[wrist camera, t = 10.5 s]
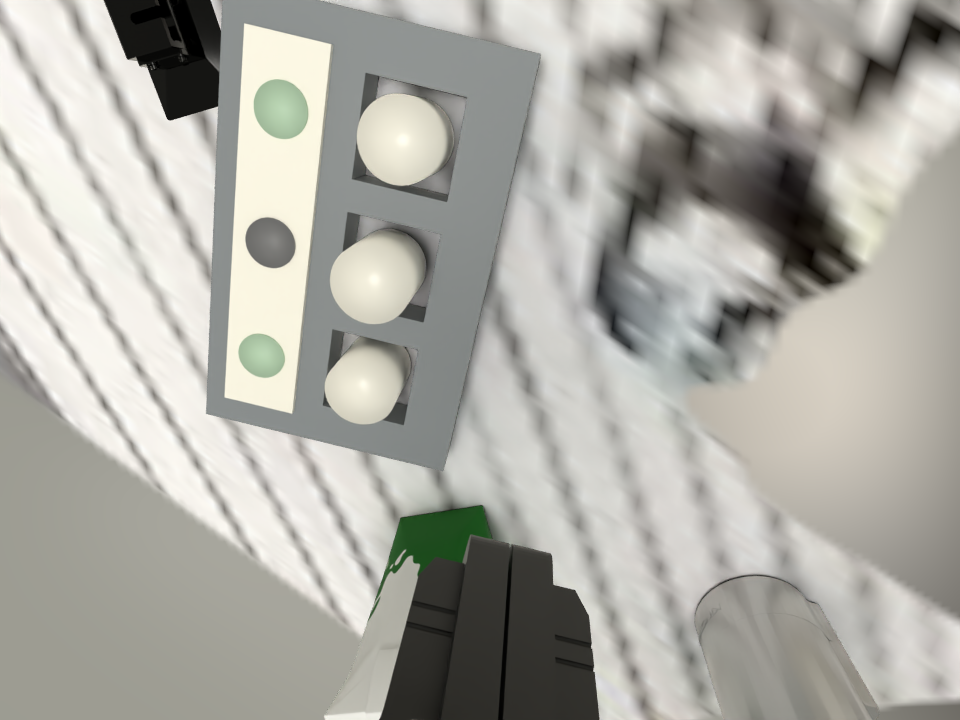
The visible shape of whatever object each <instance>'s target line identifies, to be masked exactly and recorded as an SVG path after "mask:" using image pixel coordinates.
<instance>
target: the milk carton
mask: <svg viewBox="0 0 960 720" xmlns="http://www.w3.org/2000/svg"><path fill="white" fill-rule="evenodd" d="M470 535H475V536H479V537H483V538H488V539H492V536H491V533H490V529H489V526H488V523H487V519H486V516H485V513H484V509H483V506H475V507H469V508H462V509H456V510H449V511H443V512H436V513H430V514H423V515H417V516H410V517H404V518H401V519H400V522H399V525H398V529H397V532H396V536H395V539H394V542H393V546H392V549H391V552H390V556H389V559H388V562H387V566H386V569H385V572H384V575H383V579H382V582H381V585H380V587H379V590H378V593H377V596H376V599H375V602H374V605H373V608H372V611H371V614H370V617H369V619H368V622H367V625H366V628H365V631H364V634H363V637H362V640H361V643H360V645H359V648H358V651H357V654H356V657H355V660H354V663H353V666H352V668H351V671H350V674H349V676H348V677H347V679H346V681H345V682H344V684H343V686H342V687H341V689H340V691H339V692H338V694H337V695H336V697H335V699H334V700H333V702H332V704H331V706H330V707H329V709H328V710H327V712H326V714H325V715H324V718H325V720H379V719H380V717H381V714H382V711H383V708H384V704H385V701H386V697H387V693H388V689H389V685H390V682H391V678H392V674H393V670H394V666H395V663H396V659H397V655H398V651H399V648H400V644H401V640H402V636H403V632H404V629H405V625H406V621H407V617H408V613H409V610H410V606H411V602H412V598H413V595H414V591H415V587H416V583H417V579H418V576H419V574H420V573H421V572H422V571H423V570H424V569H425V568H426V567H427V566H428V565H429V563H430V562H431V561H432V560H433V559H434V558H435V557H439V558H443V559H447V560H451V561H455V562H459V563H462V562H463V559H464V555H465V551H466V547H467V544H468V540H469V537H470ZM492 540H493V539H492Z"/></svg>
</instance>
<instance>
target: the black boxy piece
mask: <svg viewBox="0 0 960 720" xmlns="http://www.w3.org/2000/svg"><path fill="white" fill-rule="evenodd" d="M104 2H105V5H106V7H107V10H108V12H109V15H110V17H111V20H112V22H113V25H114V28H115V30H116V33H117V35H118V38H119V40H120V43H121V45H122V48H123V50H124V53H125V55H126V58H127V59H128V60H134V61H138V64H139V66H141V67H147V68H148V70H149V73H150V75H151V78H152V81H153V83H154V86H155V89H156V91H157V94H158V96H159V99H160V102H161V104H162V107H163V109H164V112H165V115H166V117H167V119H168V120H174V119H177V118H181V117H184V116H187V115H191V114H194V113H198V112H201V111H204V110H208V109H211V108H215V107H218V100H219V75H220V50H221V30H220V27H219V24H218V21H217V18H216V15H215V12H214V9H213V6H212V4H211V1H210V0H104Z"/></svg>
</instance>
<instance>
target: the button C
mask: <svg viewBox="0 0 960 720" xmlns="http://www.w3.org/2000/svg"><path fill="white" fill-rule="evenodd" d="M357 145H358V150H359V153H360V156H361V158H362V160H363V162H364V164H365V165H366V167H367V168H368V169H369V170H370V172H371V173H372V174H374V175H375V176H376V177H377V178H379V179H380V180H382V181H384V182H386V183H389V184H392V185H398V186H405V185H411V184H414V183H417V182H419V181H421V180H423V179H425V178H427V177H429V176H431V175H433V174H435V173H437V172H438V171H439V170H441V169H442V168H443V167H444V166H445V164H446V163H447V162H448V160H449V158H450V156H451V154H452V150H453V146H454V133H453V128H452V125H451V122H450V120H449V118H448V116H447V115H446V113H445V112H444V111H443V109H442V108H441V107H439V106H438V105H437V104H436V103H434V102H433V101H430V100H428V99H425V98H421V97H416V96H411V95H406V94H398V93H394V94H388V95H385V96H382V97H380V98H378V99H376V100H375V101H373V102H372V103H371V104H370V105H369V106H368V107H367V108H366V110H365V111H364V113H363V114H362V116H361V119H360V121H359V124H358V129H357Z"/></svg>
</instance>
